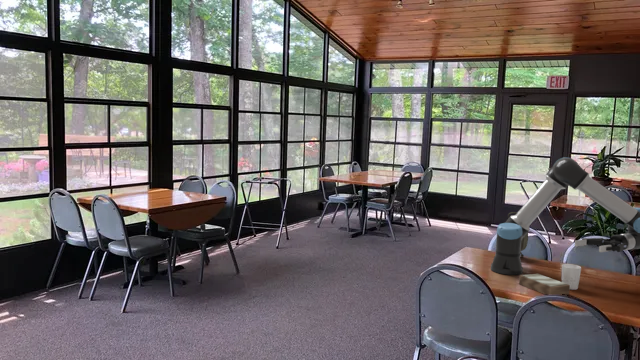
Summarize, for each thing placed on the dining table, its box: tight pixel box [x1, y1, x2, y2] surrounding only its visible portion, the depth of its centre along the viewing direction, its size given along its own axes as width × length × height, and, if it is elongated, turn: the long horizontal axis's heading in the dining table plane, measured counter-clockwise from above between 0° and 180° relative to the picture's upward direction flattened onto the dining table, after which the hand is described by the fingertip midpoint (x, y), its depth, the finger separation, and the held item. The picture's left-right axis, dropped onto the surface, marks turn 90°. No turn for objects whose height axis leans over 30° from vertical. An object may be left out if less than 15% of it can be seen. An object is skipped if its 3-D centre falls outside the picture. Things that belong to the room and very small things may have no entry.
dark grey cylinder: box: [507, 211, 529, 258], centre depth 289 cm, size 14×9×25 cm, turn 52°
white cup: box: [561, 263, 582, 291], centre depth 236 cm, size 8×8×10 cm
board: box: [518, 273, 571, 295], centre depth 232 cm, size 18×11×4 cm, turn 24°
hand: (587, 246), depth 237 cm, fingers open, 13 cm apart
